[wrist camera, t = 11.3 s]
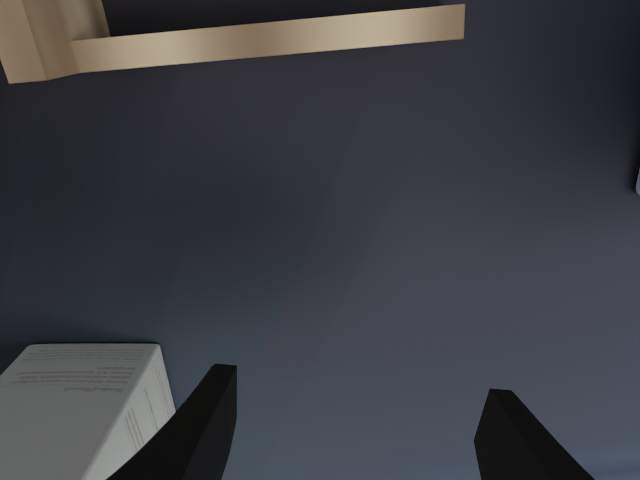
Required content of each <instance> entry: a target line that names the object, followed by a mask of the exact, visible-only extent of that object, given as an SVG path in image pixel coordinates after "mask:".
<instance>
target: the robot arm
mask: <svg viewBox="0 0 640 480" xmlns="http://www.w3.org/2000/svg"><path fill="white" fill-rule="evenodd" d="M636 192H637V193H638V194H639V195H640V169H639V174H638V179H637V184H636ZM236 419H237V366H235V365H224V364H214V365H213V366H212V367H211V368H210V370H209V371H208V372H207V374H206V375H205V377H204V378H203V379H202V381H201V382H200V383H199V385H198V386H197V387H196V388H195V390H194V391H193V392H192V393H191V395H190V396H189V397H188V398H187V399H186V401H185V402H184V403H183V404H182V405H181V406H180V408H179V409H178V410H177V411H176V412H175V413H174V415H173V416H172V417H171V418H170V419H169V420H168V421H167V422H166V423H165V424H164V425H163V427H162V428H161V429H160V430H159V431H158V432H157V433H156V434H155V435H154V436H153V437H152V438H151V439H150V440H149V441H148V442H147V443H146V444H145V445H144V446H143V447H142V448H141V449H140V450H139V451H138V452H137V453H136V454H135V455H133V456H132V457H131V458H130V459H129V460H128V461H127V462H126V463H125V464H123V465H122V466H121V467H120V468H119V469H118V470H117V471H115V472H114V473H113V474H112V475H111V476H109V477H108V478H107V479H106V480H221V479H222V476H223V472H224V469H225V466H226V463H227V460H228V457H229V453H230V448H231V444H232V439H233V434H234V429H235V424H236ZM474 444H475V450H476V455H477V461H478V465H479V470H480V475H481V479H482V480H595V479H594V478H593V477H592V476H591V475H590V474H588V473H587V472H586V471H585V470H584V469H583V468H582V467H581V466H580V465H579V464H578V463H577V462H576V461H575V460H574V458H573V457H572V456H571V455H570V454H569V453H568V452H567V451H566V450H565V449H564V448H563V447H562V446H561V445H560V444H559V443H558V442H557V441H556V439H555V438H554V437H553V436H552V435H551V434H550V433H549V432H548V431H547V430H546V428H545V427H544V426H543V425H542V424H541V423H540V422H539V421H538V420H537V418H536V417H535V416H534V415H533V414H532V413H531V412H530V411H529V409H528V408H527V407H526V406H525V405H524V404H523V403H522V402H521V400H520V399H519V398H518V397H517V396H516V395H515V394H514V393H513V392H512V391H511V390H501V389H490V390H489V393H488V396H487V399H486V403H485V406H484V409H483V412H482V416H481V419H480V422H479V425H478V429H477V432H476V435H475V438H474Z"/></svg>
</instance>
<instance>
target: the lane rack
mask: <svg viewBox="0 0 640 480" xmlns="http://www.w3.org/2000/svg"><path fill="white" fill-rule="evenodd" d="M464 18H465V4H457V5H445V6H434V7H424V8H413V9H403V10H392V11H382V12H371V13H360V14H350V15H339V16H329V17H318V18H307V19H297V20H286V21H276V22H265V23H255V24H244V25H233V26H223V27H212V28H202V29H191V30H180V31H170V32H159V33H149V34H138V35H127V36H117V37H111V36H110V32H109V28H108V24H107V20H106V16H105V12H104V8H103V4H102V0H0V59H1V62H2V65H3V68H4V70H5V73H6V76H7V79H8V82H9V84H11V83H22V82H33V81H45V80H50V79H55V78H59V77H64V76H68V75H73V74H77V73H84V72H95V71H107V70H118V69H129V68H140V67H151V66H163V65H174V64H185V63H196V62H208V61H219V60H230V59H241V58H252V57H264V56H275V55H286V54H297V53H309V52H320V51H331V50H342V49H353V48H365V47H376V46H387V45H398V44H410V43H421V42H432V41H443V40H454V39H464Z"/></svg>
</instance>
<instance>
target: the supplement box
mask: <svg viewBox="0 0 640 480" xmlns="http://www.w3.org/2000/svg"><path fill="white" fill-rule="evenodd" d="M175 412H176V411H175V407H174V403H173V399H172V395H171V390H170V386H169V382H168V378H167V374H166V370H165V365H164V361H163V357H162V353H161V349H160V345H159V344H35V345H29V346H28V347H27V348H26V349H25V350H24V351H23V352H22V353H21V354H20V355H19V356H18V357H17V358H16V360H15V361H14V362H13V363H12V364H11V365H10V366H9V367H8V368H7V369H6V370H5V371H4V372H3V373H2V374H1V375H0V480H106V479H107V478H108V477H109V476H111V475H112V474H113V473H114V472H115V471H117V470H118V469H119V468H120V467H121V466H122V465H123V464H125V463H126V462H127V461H128V460H129V459H130V458H131V457H132V456H133V455H135V454H136V453H137V452H138V451H139V450H140V449H141V448H142V447H143V446H144V445H145V444H146V443H147V442H148V441H149V440H150V439H151V438H152V437H153V436H154V435H155V434H156V433H157V432H158V431H159V430H160V429H161V428H162V427H163V425H164V424H165V423H166V422H167V421H168V420H169V419H170V418H171V417H172V416H173V415H174V413H175Z"/></svg>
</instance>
